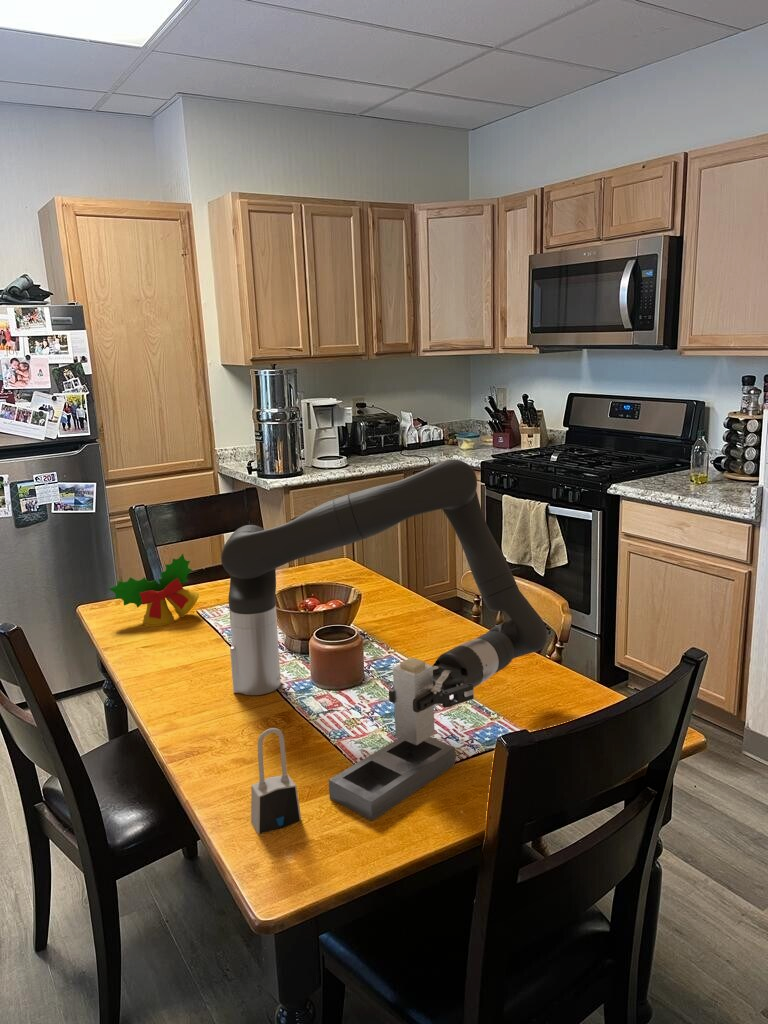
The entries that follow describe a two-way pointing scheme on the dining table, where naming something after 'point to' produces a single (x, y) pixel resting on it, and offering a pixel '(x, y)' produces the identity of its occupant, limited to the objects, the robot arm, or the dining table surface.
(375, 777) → the cinder block
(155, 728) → the dining table surface
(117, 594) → the ornament
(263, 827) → the padlock
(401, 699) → the grey rectangular block
